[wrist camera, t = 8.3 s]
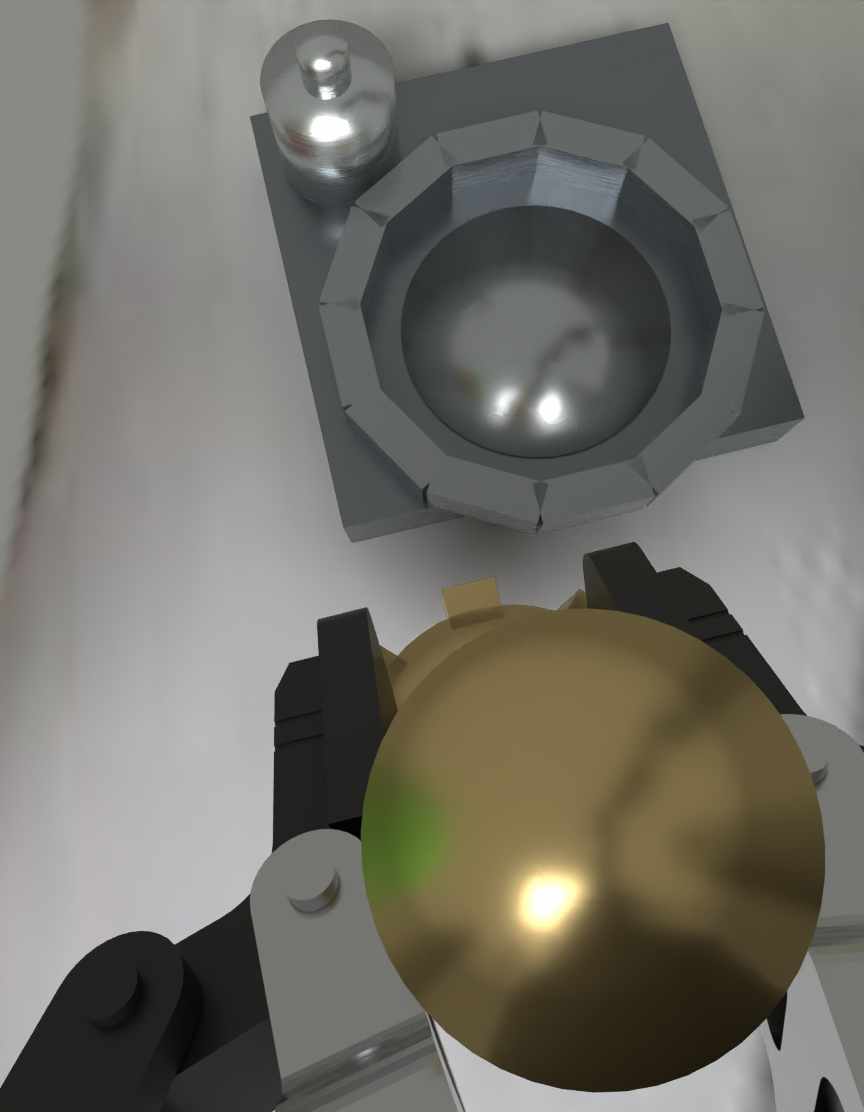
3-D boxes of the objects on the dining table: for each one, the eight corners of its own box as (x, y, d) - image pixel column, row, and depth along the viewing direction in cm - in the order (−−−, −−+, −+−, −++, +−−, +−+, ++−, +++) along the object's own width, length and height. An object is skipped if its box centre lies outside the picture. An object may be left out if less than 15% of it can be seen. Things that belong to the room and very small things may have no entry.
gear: (610, 565, 16) (859, 350, 6) (699, 871, 15) (1164, 1195, 5) (319, 636, 16) (104, 534, 6) (388, 950, 15) (262, 1434, 5)
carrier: (652, 71, 25) (711, -112, 19) (791, 485, 22) (905, 411, 17) (264, 159, 24) (211, -1, 19) (362, 588, 22) (334, 548, 16)
